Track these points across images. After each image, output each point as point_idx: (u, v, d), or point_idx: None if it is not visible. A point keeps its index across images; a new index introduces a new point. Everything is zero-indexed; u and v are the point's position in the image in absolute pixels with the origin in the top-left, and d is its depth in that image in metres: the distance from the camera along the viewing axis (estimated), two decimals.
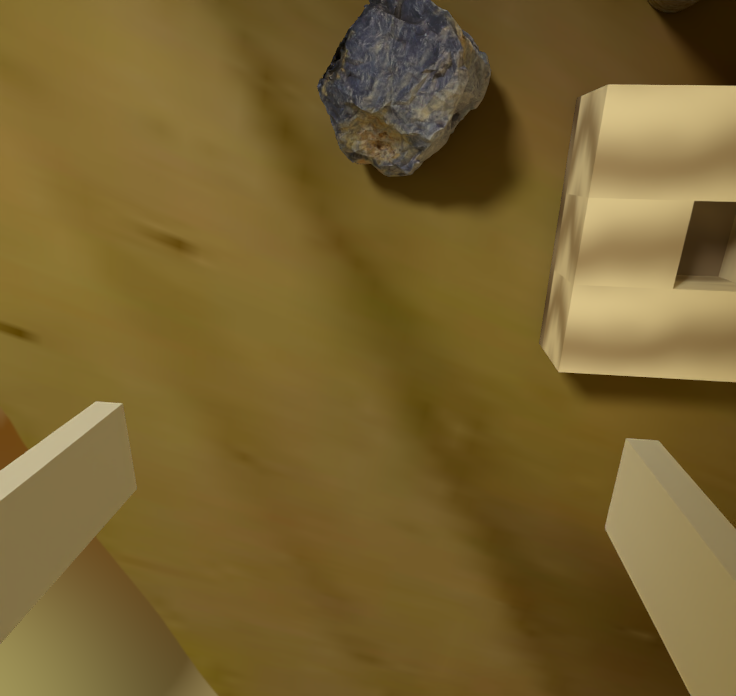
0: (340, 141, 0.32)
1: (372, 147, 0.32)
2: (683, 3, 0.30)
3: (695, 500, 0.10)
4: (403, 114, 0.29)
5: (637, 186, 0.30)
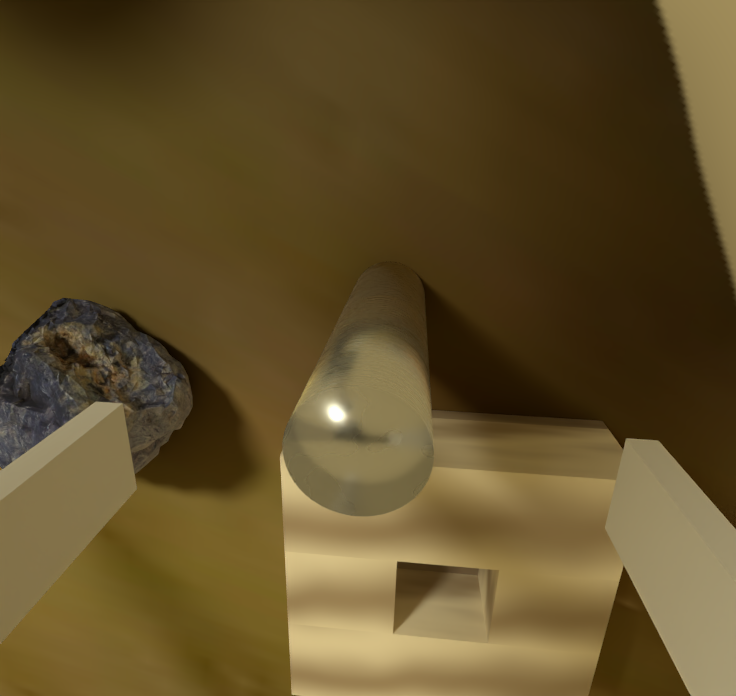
0: None
1: None
2: None
3: (695, 500, 0.10)
4: None
5: (333, 544, 0.27)
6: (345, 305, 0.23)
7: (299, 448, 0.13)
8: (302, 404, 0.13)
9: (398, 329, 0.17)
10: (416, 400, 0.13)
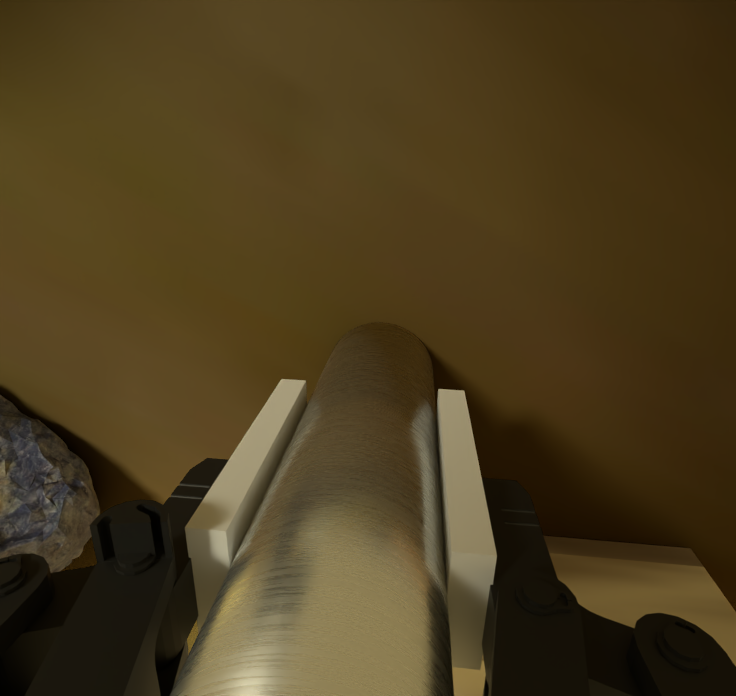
0: None
1: None
2: None
3: (459, 429, 0.12)
4: None
5: None
6: (304, 410, 0.14)
7: None
8: None
9: (383, 538, 0.08)
10: None
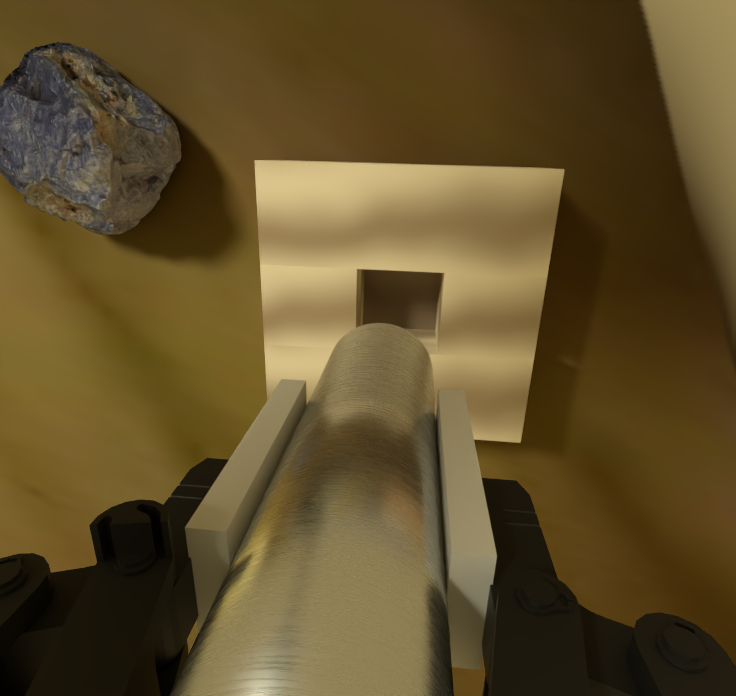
0: (32, 205, 0.33)
1: (66, 211, 0.33)
2: None
3: (459, 429, 0.12)
4: (64, 186, 0.30)
5: (302, 254, 0.31)
6: (304, 411, 0.14)
7: None
8: None
9: (383, 539, 0.08)
10: None
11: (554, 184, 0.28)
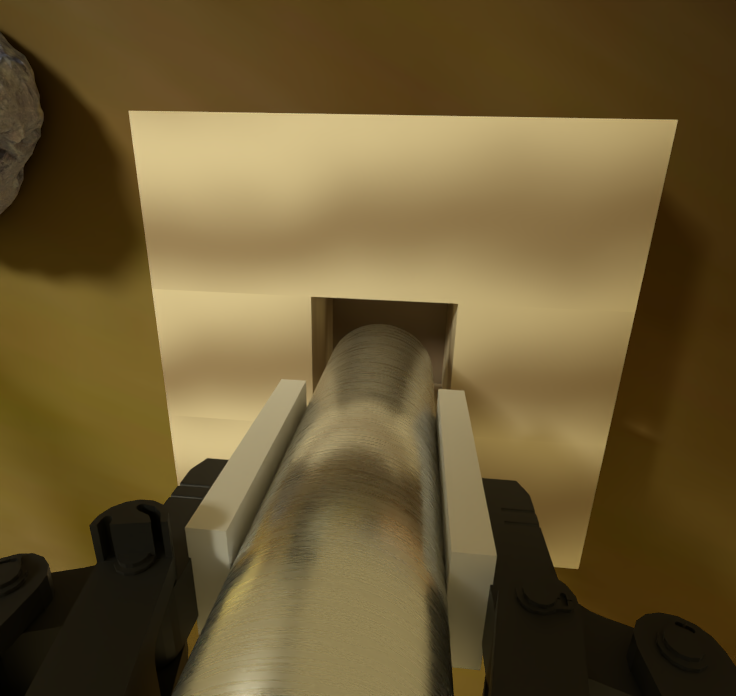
0: None
1: None
2: None
3: (459, 429, 0.12)
4: None
5: (219, 272, 0.19)
6: (304, 412, 0.14)
7: None
8: None
9: (384, 540, 0.08)
10: None
11: (657, 148, 0.16)
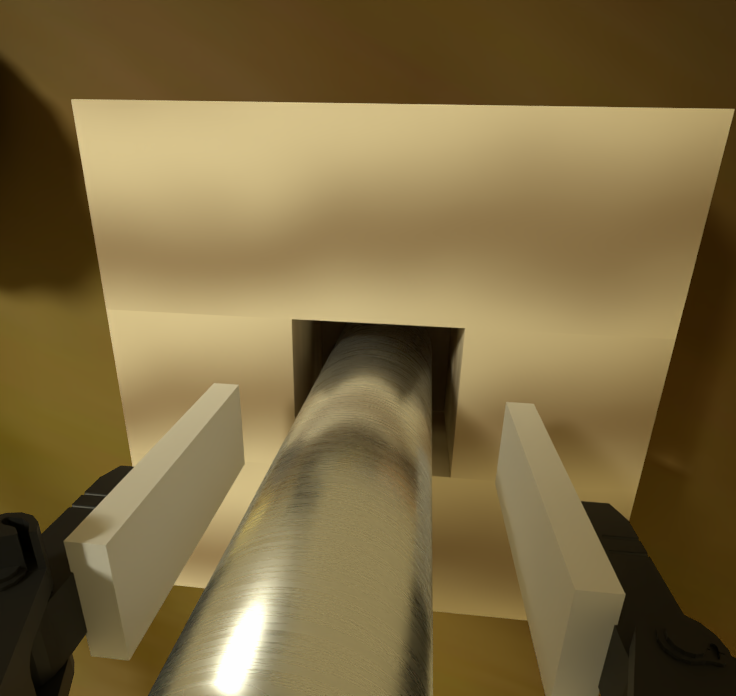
0: None
1: None
2: None
3: (541, 447, 0.11)
4: None
5: (183, 290, 0.16)
6: None
7: None
8: None
9: (381, 457, 0.10)
10: (398, 685, 0.06)
11: (708, 143, 0.13)
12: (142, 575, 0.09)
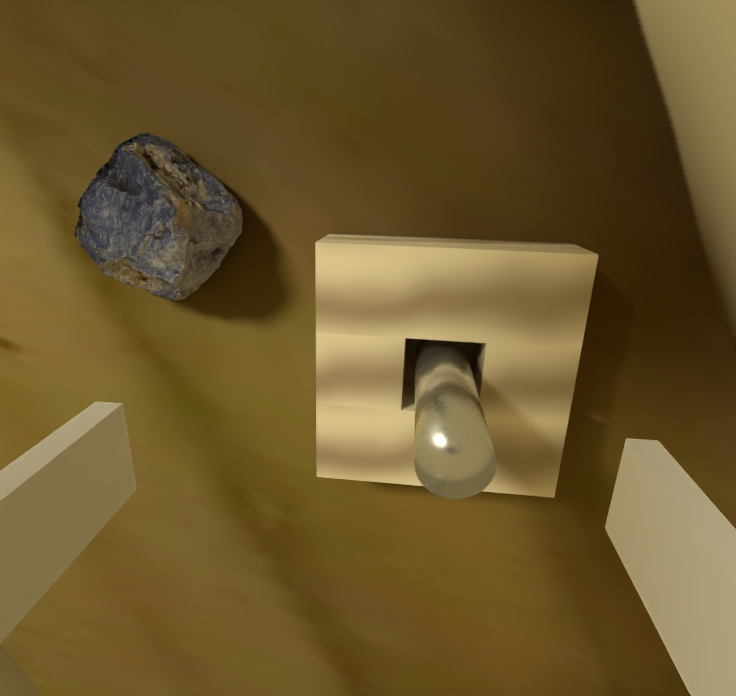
0: (107, 275, 0.36)
1: (138, 280, 0.36)
2: None
3: (695, 500, 0.10)
4: (143, 263, 0.33)
5: (354, 324, 0.34)
6: (418, 365, 0.34)
7: (423, 461, 0.24)
8: (427, 437, 0.24)
9: (465, 389, 0.28)
10: (486, 435, 0.24)
11: (589, 267, 0.31)
12: None
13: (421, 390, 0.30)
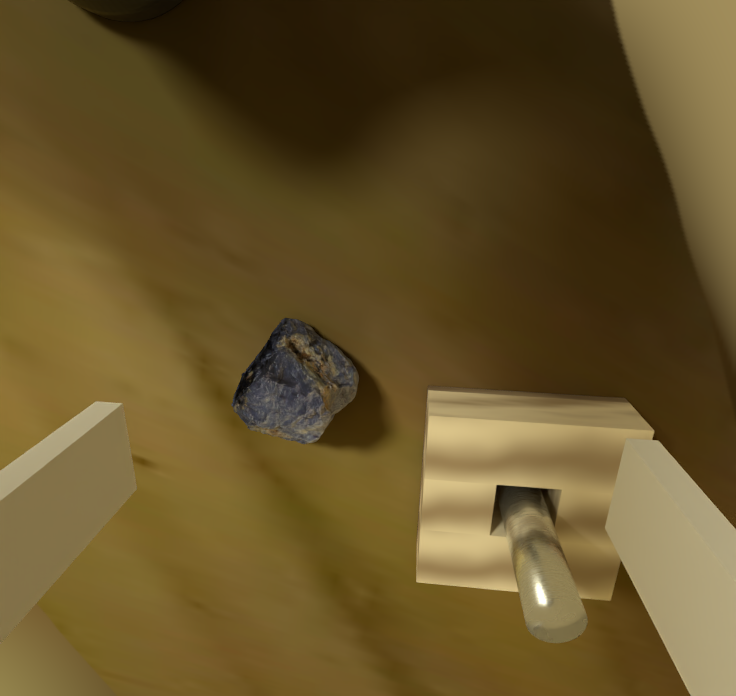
0: (251, 429, 0.44)
1: (275, 432, 0.45)
2: None
3: (695, 500, 0.10)
4: (289, 430, 0.42)
5: (456, 473, 0.43)
6: (505, 504, 0.43)
7: (533, 617, 0.33)
8: (537, 603, 0.33)
9: (554, 546, 0.37)
10: (579, 599, 0.33)
11: (646, 439, 0.40)
12: None
13: (516, 540, 0.39)
